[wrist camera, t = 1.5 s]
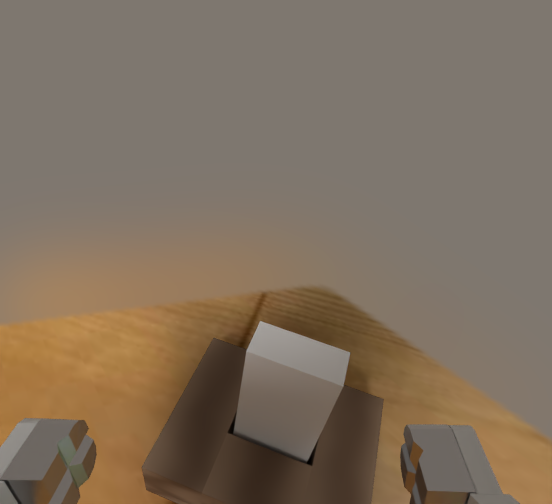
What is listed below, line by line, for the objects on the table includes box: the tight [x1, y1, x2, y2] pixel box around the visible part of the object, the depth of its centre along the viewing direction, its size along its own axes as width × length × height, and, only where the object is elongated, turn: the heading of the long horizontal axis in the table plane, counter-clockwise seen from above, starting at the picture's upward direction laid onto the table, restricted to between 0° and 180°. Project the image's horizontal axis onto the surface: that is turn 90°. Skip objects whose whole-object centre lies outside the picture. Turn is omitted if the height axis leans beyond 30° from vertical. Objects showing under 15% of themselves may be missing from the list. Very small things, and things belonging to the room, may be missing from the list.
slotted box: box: [142, 338, 384, 504], centre depth 33 cm, size 16×12×4 cm
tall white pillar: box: [233, 321, 350, 464], centre depth 29 cm, size 6×2×14 cm, turn 72°
